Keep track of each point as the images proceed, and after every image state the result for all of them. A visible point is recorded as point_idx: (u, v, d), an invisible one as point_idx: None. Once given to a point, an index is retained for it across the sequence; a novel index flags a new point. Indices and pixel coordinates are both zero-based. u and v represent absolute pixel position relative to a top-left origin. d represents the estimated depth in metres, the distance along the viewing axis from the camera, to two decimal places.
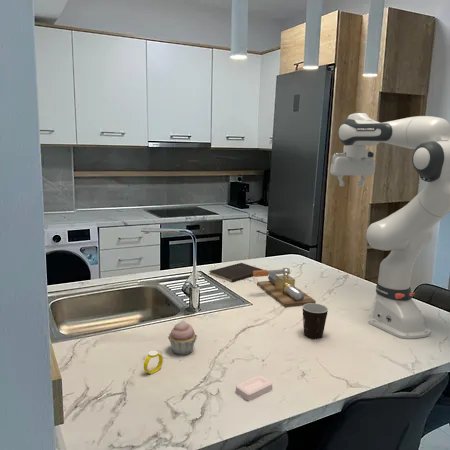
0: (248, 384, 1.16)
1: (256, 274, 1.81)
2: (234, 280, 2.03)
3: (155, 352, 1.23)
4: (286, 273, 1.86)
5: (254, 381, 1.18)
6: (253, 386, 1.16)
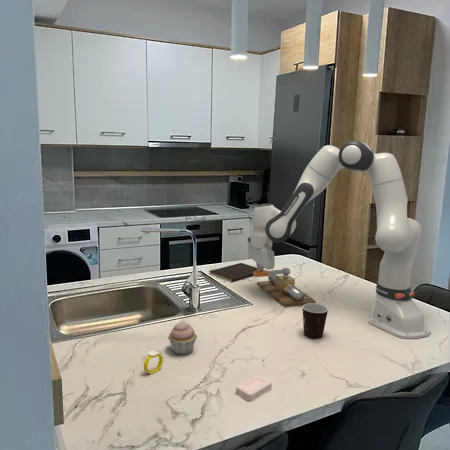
0: (248, 384, 1.16)
1: (257, 274, 1.81)
2: (234, 280, 2.03)
3: (155, 352, 1.23)
4: (286, 273, 1.86)
5: (254, 381, 1.18)
6: (253, 386, 1.16)
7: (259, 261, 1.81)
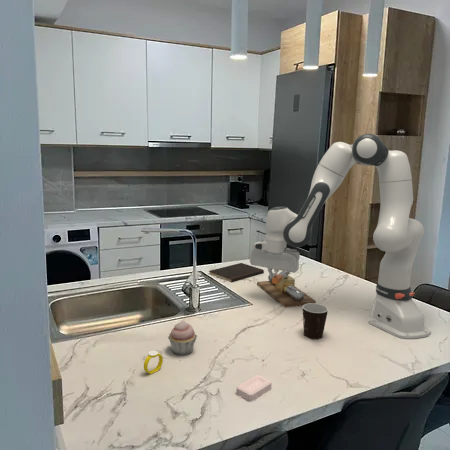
0: (248, 384, 1.16)
1: (278, 281, 1.74)
2: (233, 280, 2.03)
3: (155, 352, 1.23)
4: (288, 273, 1.86)
5: (254, 381, 1.18)
6: (253, 386, 1.16)
7: (278, 266, 1.74)
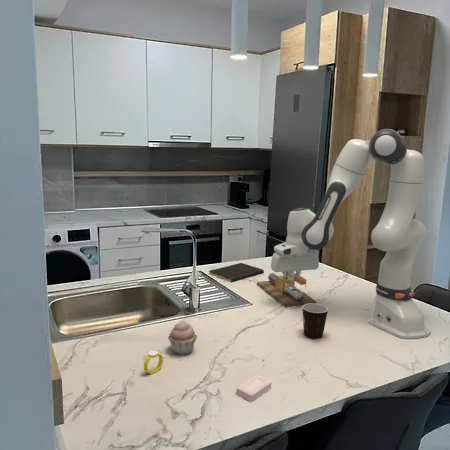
0: (248, 384, 1.16)
1: None
2: (233, 280, 2.03)
3: (155, 352, 1.23)
4: None
5: (253, 380, 1.18)
6: (253, 386, 1.16)
7: (303, 267, 1.74)
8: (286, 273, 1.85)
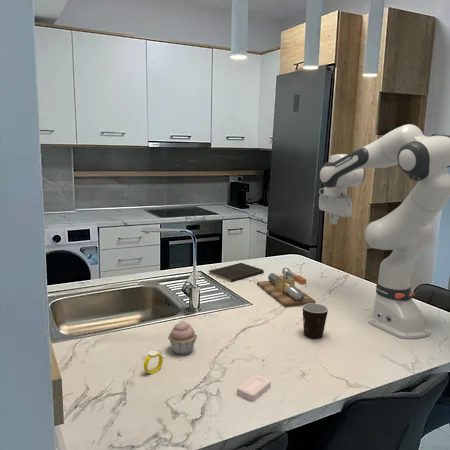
0: (248, 384, 1.16)
1: None
2: (233, 280, 2.03)
3: (155, 352, 1.23)
4: None
5: (253, 380, 1.18)
6: (253, 386, 1.16)
7: (334, 211, 1.83)
8: (286, 273, 1.85)
